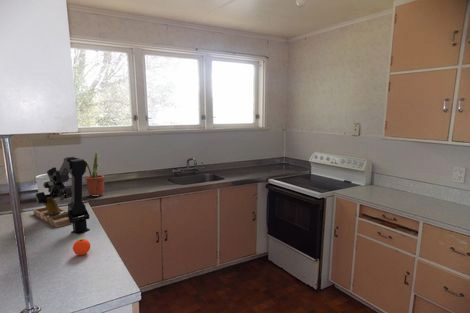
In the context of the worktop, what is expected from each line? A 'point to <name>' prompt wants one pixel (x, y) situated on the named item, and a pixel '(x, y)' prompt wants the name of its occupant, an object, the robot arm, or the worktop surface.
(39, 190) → the utensil holder
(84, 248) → the clementine
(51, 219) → the tray
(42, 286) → the worktop surface
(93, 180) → the potted plant
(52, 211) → the condiment
